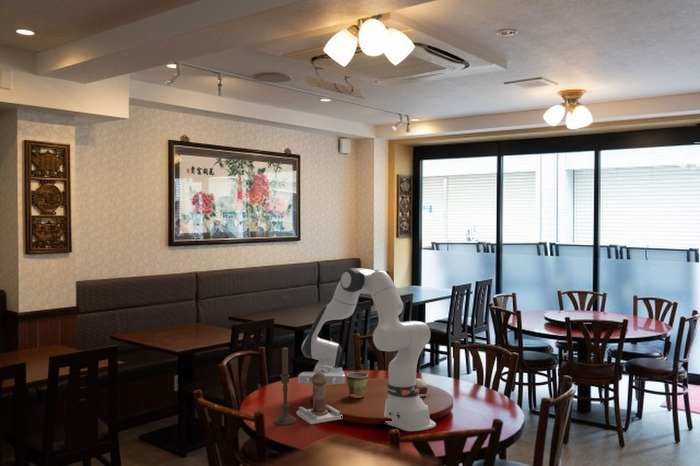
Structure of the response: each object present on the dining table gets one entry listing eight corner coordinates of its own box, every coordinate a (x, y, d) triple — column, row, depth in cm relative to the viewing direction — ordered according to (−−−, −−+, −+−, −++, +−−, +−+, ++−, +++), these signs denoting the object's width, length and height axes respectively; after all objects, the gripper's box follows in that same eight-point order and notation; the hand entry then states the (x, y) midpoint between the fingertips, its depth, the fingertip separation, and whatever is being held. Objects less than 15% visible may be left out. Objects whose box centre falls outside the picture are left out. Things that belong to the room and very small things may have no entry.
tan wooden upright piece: (330, 414, 246) (330, 373, 245) (315, 416, 242) (314, 375, 242) (323, 409, 252) (323, 369, 252) (307, 412, 248) (307, 371, 248)
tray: (342, 418, 244) (342, 411, 244) (310, 424, 238) (310, 416, 238) (327, 409, 257) (327, 402, 257) (296, 414, 250) (296, 407, 250)
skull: (397, 391, 280) (410, 373, 284) (412, 404, 284) (424, 386, 287) (412, 397, 270) (424, 378, 273) (426, 410, 273) (438, 391, 276)
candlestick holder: (297, 417, 246) (297, 344, 246) (296, 425, 237) (295, 348, 236) (275, 418, 246) (274, 344, 245) (272, 425, 236) (272, 348, 236)
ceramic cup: (368, 399, 271) (368, 377, 271) (346, 399, 271) (346, 377, 271) (368, 391, 284) (368, 370, 284) (346, 391, 284) (346, 370, 284)
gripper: (299, 367, 270) (296, 375, 256) (345, 367, 269) (344, 375, 255) (299, 381, 270) (296, 390, 256) (345, 381, 269) (344, 390, 256)
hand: (320, 382), depth 256 cm, fingers open, 8 cm apart
